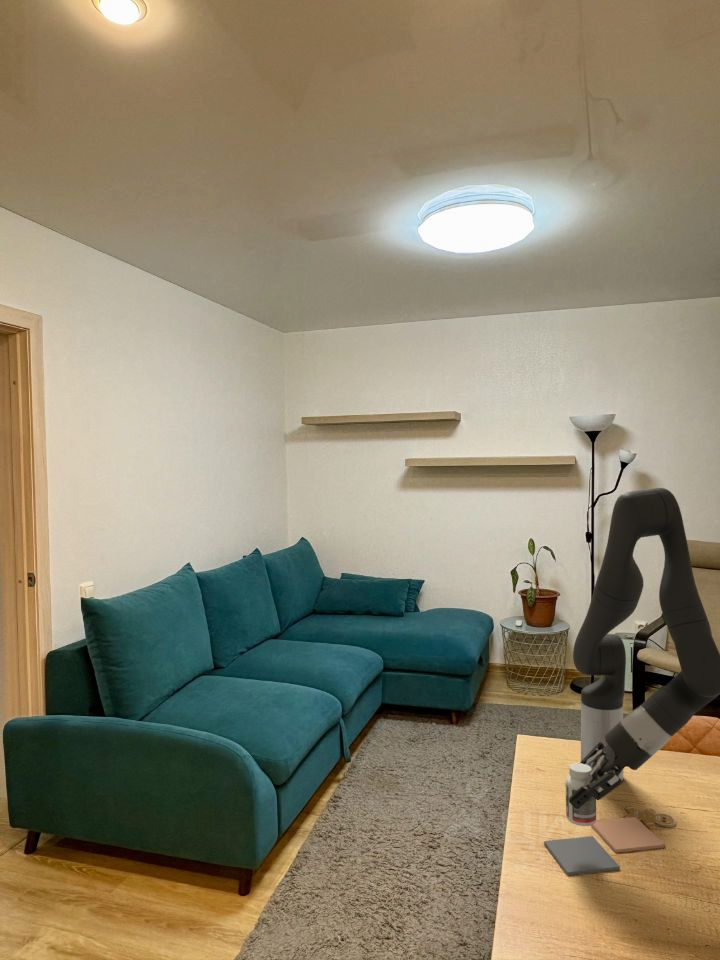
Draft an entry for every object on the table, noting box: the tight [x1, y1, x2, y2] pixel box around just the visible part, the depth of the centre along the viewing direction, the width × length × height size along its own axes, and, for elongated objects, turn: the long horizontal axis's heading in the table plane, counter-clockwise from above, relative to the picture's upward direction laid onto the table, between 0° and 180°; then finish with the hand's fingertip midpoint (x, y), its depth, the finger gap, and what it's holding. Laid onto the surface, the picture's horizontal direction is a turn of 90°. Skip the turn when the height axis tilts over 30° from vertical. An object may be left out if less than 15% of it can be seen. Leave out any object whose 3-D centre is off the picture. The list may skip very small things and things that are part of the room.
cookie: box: [623, 806, 677, 830], centre depth 137 cm, size 8×1×10 cm
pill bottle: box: [565, 762, 597, 827], centre depth 124 cm, size 5×5×10 cm
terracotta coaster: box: [590, 817, 666, 854], centre depth 131 cm, size 10×10×1 cm
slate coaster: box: [543, 835, 621, 876], centre depth 125 cm, size 10×10×1 cm
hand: (570, 796), depth 125 cm, fingers closed on pill bottle, 5 cm apart
